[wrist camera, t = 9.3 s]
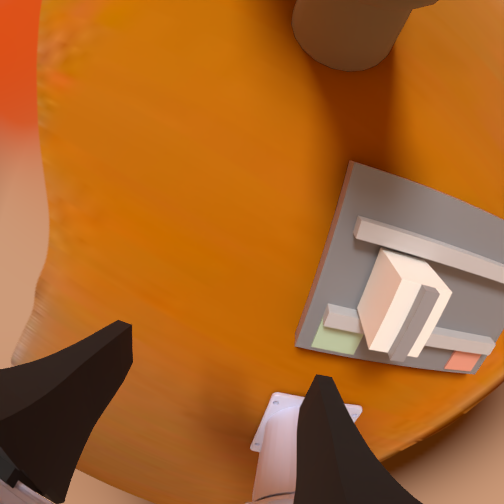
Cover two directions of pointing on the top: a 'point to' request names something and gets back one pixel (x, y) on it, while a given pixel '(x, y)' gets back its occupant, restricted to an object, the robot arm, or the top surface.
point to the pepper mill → (350, 29)
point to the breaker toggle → (401, 304)
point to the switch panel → (417, 245)
